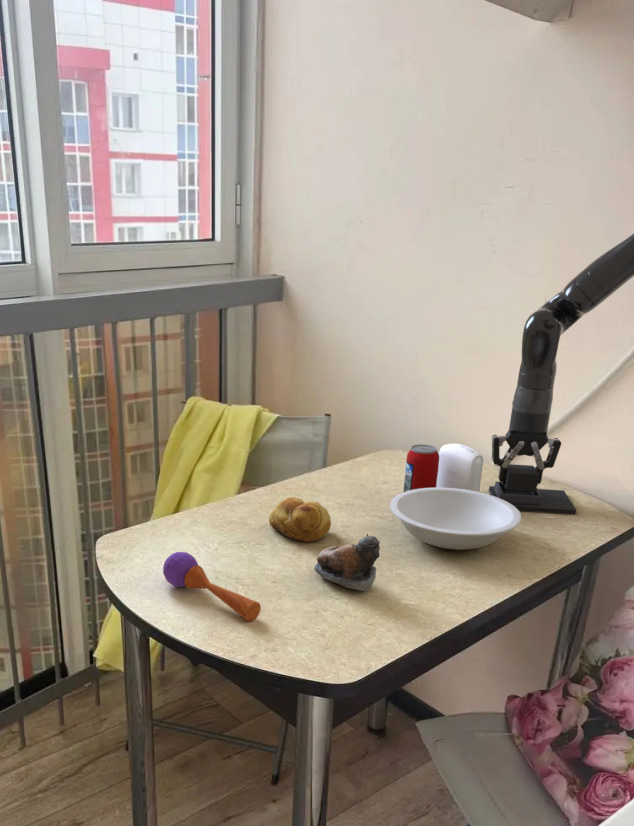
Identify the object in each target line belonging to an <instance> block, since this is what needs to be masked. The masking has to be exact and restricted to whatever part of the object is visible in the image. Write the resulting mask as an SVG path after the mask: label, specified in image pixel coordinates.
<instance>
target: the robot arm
mask: <svg viewBox="0 0 634 826" xmlns="http://www.w3.org/2000/svg"><path fill="white" fill-rule="evenodd" d="M633 277H634V233H632V234H631V235H630V236H628V237H627V238H625V239H624V240H622V241H621V242H619V243H618V244H616V245H615V246H613V247H611V248H610V249H608V250H606V251H605V252H604V253H602V255H600V256H598V257H597V258H595V259H594V260H593V261H591V263H589V264H588V265H587V266H586V267H585V268H584V269H583V270H581V271H580V272H579V273H577V274H576V275H575V276H574V278H572V279H571V280H570V281H569V282H568V283H567V284H566V285H565V286H564V287H563V288H562V290H560V291H559V292H558V293H556V295H554V296H553V297H551V298H550V299H549V300H548V301H546V302H545V303H544V304H543V305H542V306H540V307H539V308H538V309H536V310H535V311H534V312H532V313H531V314H530V315H529V316H528V317H527V319H526V321H525V323H524V326H523V329H522V330H523V331H522V339H521V361H520V365H519V370H518V377H517V382H516V383H517V384H516V388H515V391H514V395H513V400H512V403H511V406H512V408H511V414H510V419H509V427H508V431H507V432H506V434H505V435H497V434H492V435H491V461H492V462H493V465H496V466H499V471H498V477H497V478H498V482H501V483H502V484H505V483H506V476H507V470H508V465H509V464H511V463H512V461H513V460H514V459H515V458H516V456H527V457H533V459H534V462H535V465H536V466H534V468H535V470H536V472H537V473H538V481H537V486H538V485H541V483H542V478H543V474H544V470H546V469H552V468H554V466H555V464H556V462H557V461H556V460H557V457H558V455H559V452H560V449H561V447H562V441H561V440H560V439H559V438H558V437H554V438H552V437H549V436H548V429H549V422H550V417H551V413H552V412H551V411H552V407H553V399H554V388H555V381H556V375H557V370H558V369H557V367H558V364H557V360H556V359H557V354H558V351H559V344H560V339H561V336H562V335H563V334H564V333H566V331H568V330H569V329H570V328H572V327H573V326H574V324H575V323H577V322H578V321H579V320H580V319H581V318H583V316H585V315H586V314H588V313H590V312H591V311H593V310H594V309H596V308H597V307H599V305H601V304H602V303H603V302H604V301H606V300H607V299H608V298H609V297H611V296H612V295H613V294H614V293H615V292H616V291H618V290H619V289H620V288H621V287H623V285H625V284H626V283H628V281H630V280H631V279H632V278H633ZM504 442H506V443H507V445H508V446H509V447H508V448H507V449H506V451H505V453H504V455H503V457H502V458H501V457H500V447H502V446H503V444H504ZM546 445H547V447H548V449H549V450H548V453H547V456H546V459H545V460H543V458H542V455H541V450H543V448H544V447H545V446H546Z"/></svg>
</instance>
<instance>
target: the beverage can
mask: <svg viewBox="0 0 634 826" xmlns="http://www.w3.org/2000/svg"><path fill="white" fill-rule="evenodd" d="M405 461H406V462H405V470H404V481H403V482H404V483H403V492H406V491H410V490H414V489H421V488H435V487H436V484H437V476H438V467H439V452H438V448H437V447H435V446H434V445H430V444H413V445H412V446H410V449H409V451H408V452H407V453H406V460H405ZM403 492H402V493H403Z"/></svg>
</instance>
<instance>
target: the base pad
mask: <svg viewBox="0 0 634 826" xmlns="http://www.w3.org/2000/svg"><path fill="white" fill-rule="evenodd" d="M488 492H489V495H492V496H495V497H498V498H500V499H502V500H505V501H507V502H508V503H510V504H512V505H513V506H514V507H516V508H517V509H518V510H519V512H528V513H529V512H531V513H544V514H545V513H547V514H560V515H563V514H564V515H577V508H576V507H575V505H574V504H573V502H572V501H571V499H570V498H569V495H568V494H567V493H566V491H565V490H563V489H562V490H561V489H549V488H548V489H545V488H538V486H536V492H523V491H507V490H506V489H505V487H504V484H502V483H501V482H500V481H499V480H498V481H495V482H494V485H488Z"/></svg>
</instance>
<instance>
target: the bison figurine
mask: <svg viewBox="0 0 634 826" xmlns="http://www.w3.org/2000/svg"><path fill="white" fill-rule="evenodd" d="M380 544H381V539H378V537H376V536H373V535H369V534H368V533H367V534H366V535H365V536H364V537H362V538H361V539H359V540H358V543H357V544H354V543H348V544H347V543H346V544H345V545H342V546H340V547H338V546H336V545H332V546H330V547H327V548H324V549H322V550H321V551H320V553H319V554H318V555H317V557H316V562H317V563H316V564H315V565H314V569H313V570H314V571H315V573H316V574H317V575H319V576H320V577H321V578H322V579H324V580H327V581H329V582H332V583H335V584H338V585H340V586H343V587H344V588H348V589H352V590H356V591H361V592H364V591H368V590H370V589H371V587H372V585H373V584H374V582H375V580H376V576H377V568H376V566H375V562H376V561H377V559H379V558H380V550H381V548H380V547H381V546H380Z"/></svg>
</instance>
